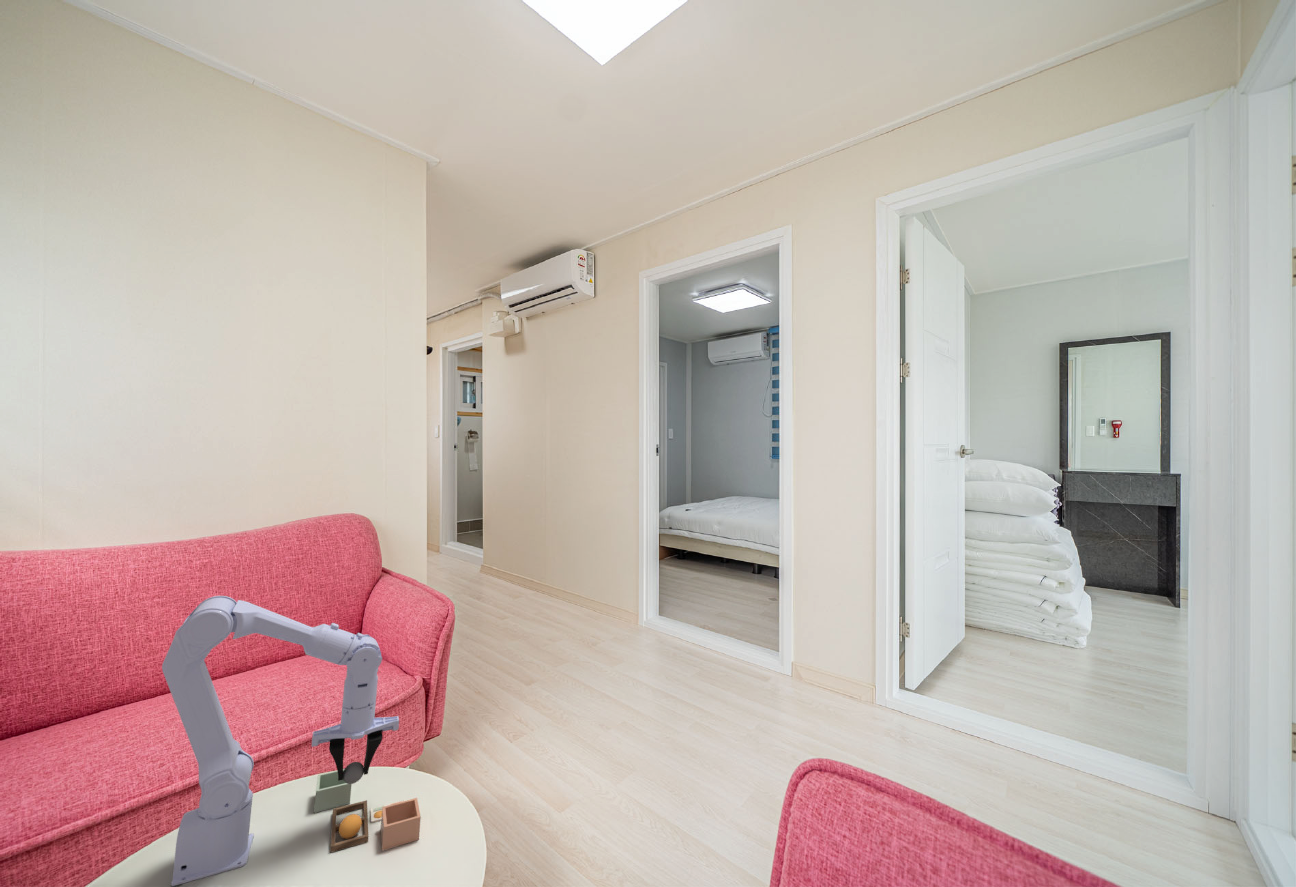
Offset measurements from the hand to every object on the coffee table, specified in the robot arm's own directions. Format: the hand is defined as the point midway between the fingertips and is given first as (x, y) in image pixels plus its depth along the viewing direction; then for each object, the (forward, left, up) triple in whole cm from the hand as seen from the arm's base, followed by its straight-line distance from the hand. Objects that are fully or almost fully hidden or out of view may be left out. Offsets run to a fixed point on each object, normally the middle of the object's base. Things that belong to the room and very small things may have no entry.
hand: (353, 774), depth 96 cm
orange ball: (0, -5, -6) cm, 8 cm away
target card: (+7, -1, -8) cm, 11 cm away
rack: (0, -3, -8) cm, 9 cm away
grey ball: (0, 0, 0) cm, 0 cm away
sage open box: (-3, +8, -8) cm, 12 cm away
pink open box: (+8, -9, -8) cm, 14 cm away
